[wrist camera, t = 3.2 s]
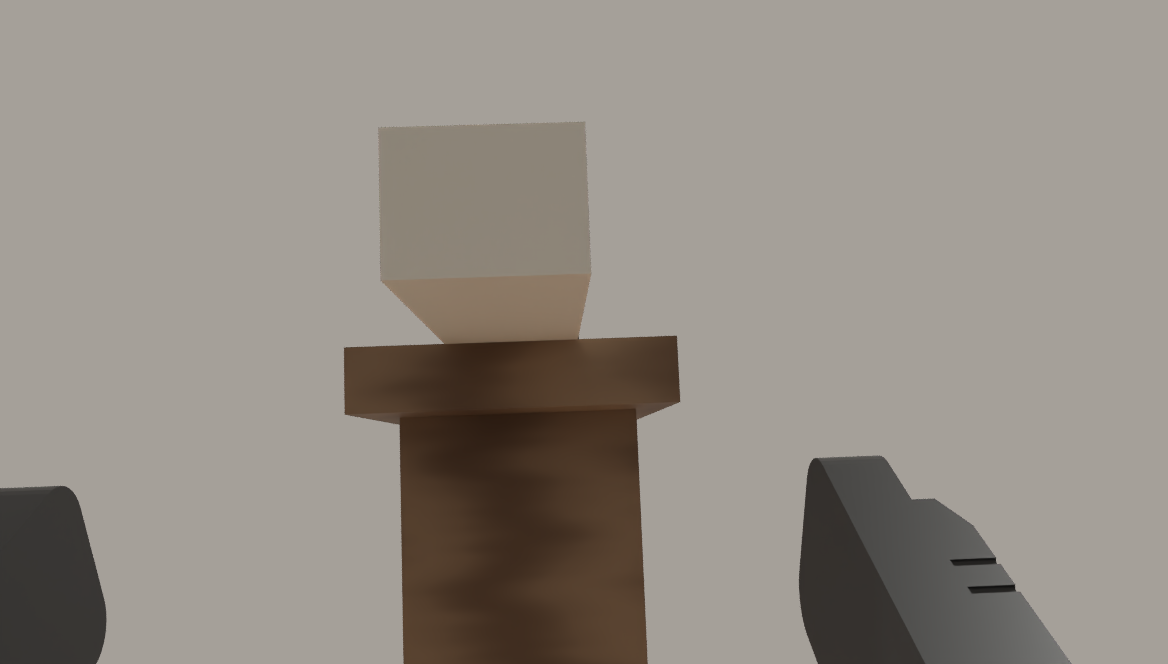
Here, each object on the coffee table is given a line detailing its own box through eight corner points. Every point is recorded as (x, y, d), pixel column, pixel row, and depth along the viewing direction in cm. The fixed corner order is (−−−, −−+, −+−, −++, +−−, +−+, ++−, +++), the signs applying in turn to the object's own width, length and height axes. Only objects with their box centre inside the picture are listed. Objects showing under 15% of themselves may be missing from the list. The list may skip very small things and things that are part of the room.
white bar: (355, 386, 18) (352, 78, 19) (476, 427, 47) (473, 302, 48) (621, 377, 19) (608, 71, 19) (581, 422, 47) (576, 299, 48)
